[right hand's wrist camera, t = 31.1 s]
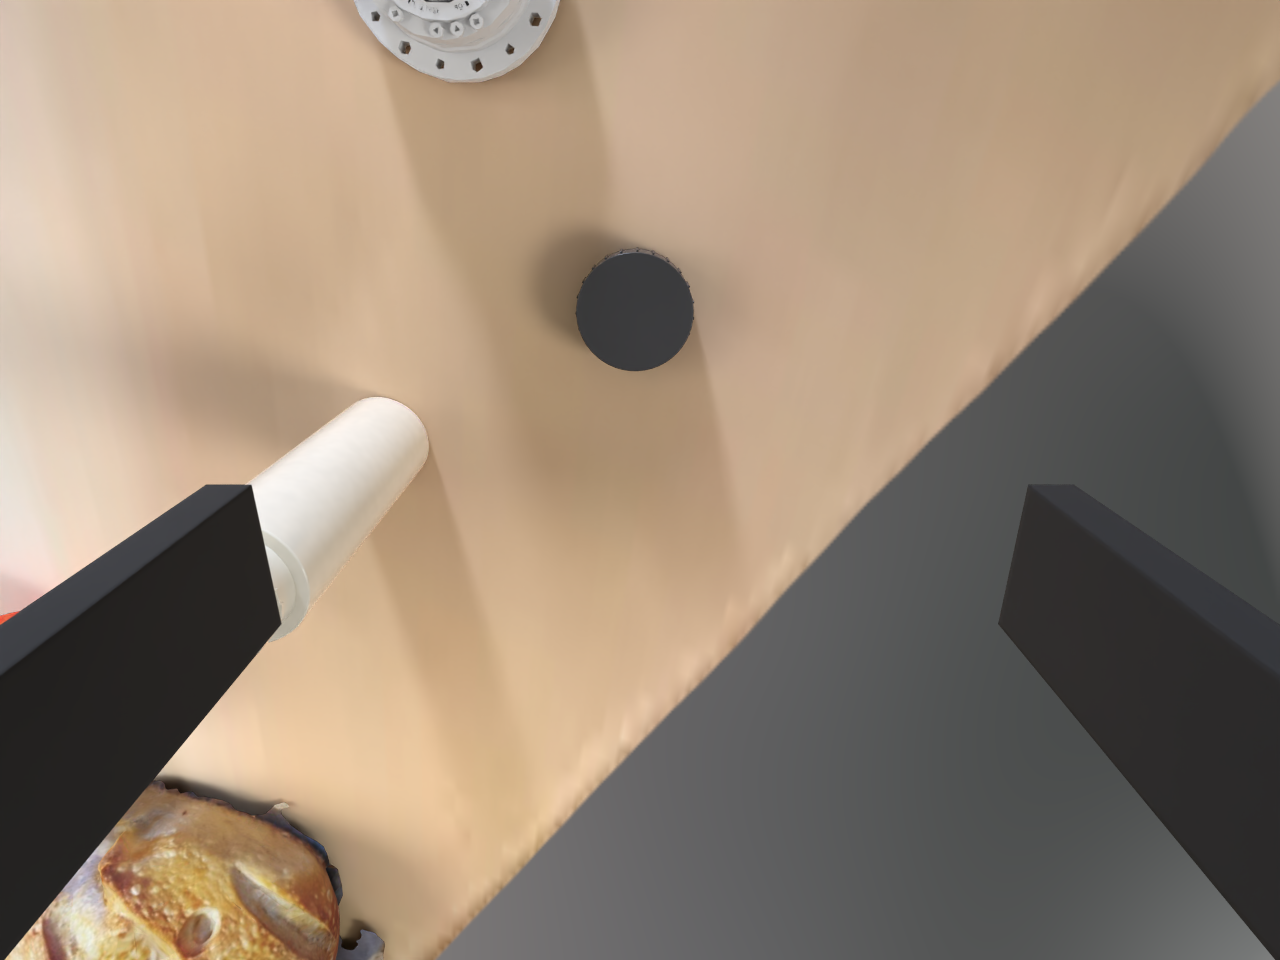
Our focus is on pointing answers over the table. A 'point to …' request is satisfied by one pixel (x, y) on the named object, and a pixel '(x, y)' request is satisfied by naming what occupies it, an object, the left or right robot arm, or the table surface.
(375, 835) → the table surface
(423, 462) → the white bottle
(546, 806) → the table surface
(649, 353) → the lid
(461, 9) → the mechanical component
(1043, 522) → the right robot arm
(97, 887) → the bread
